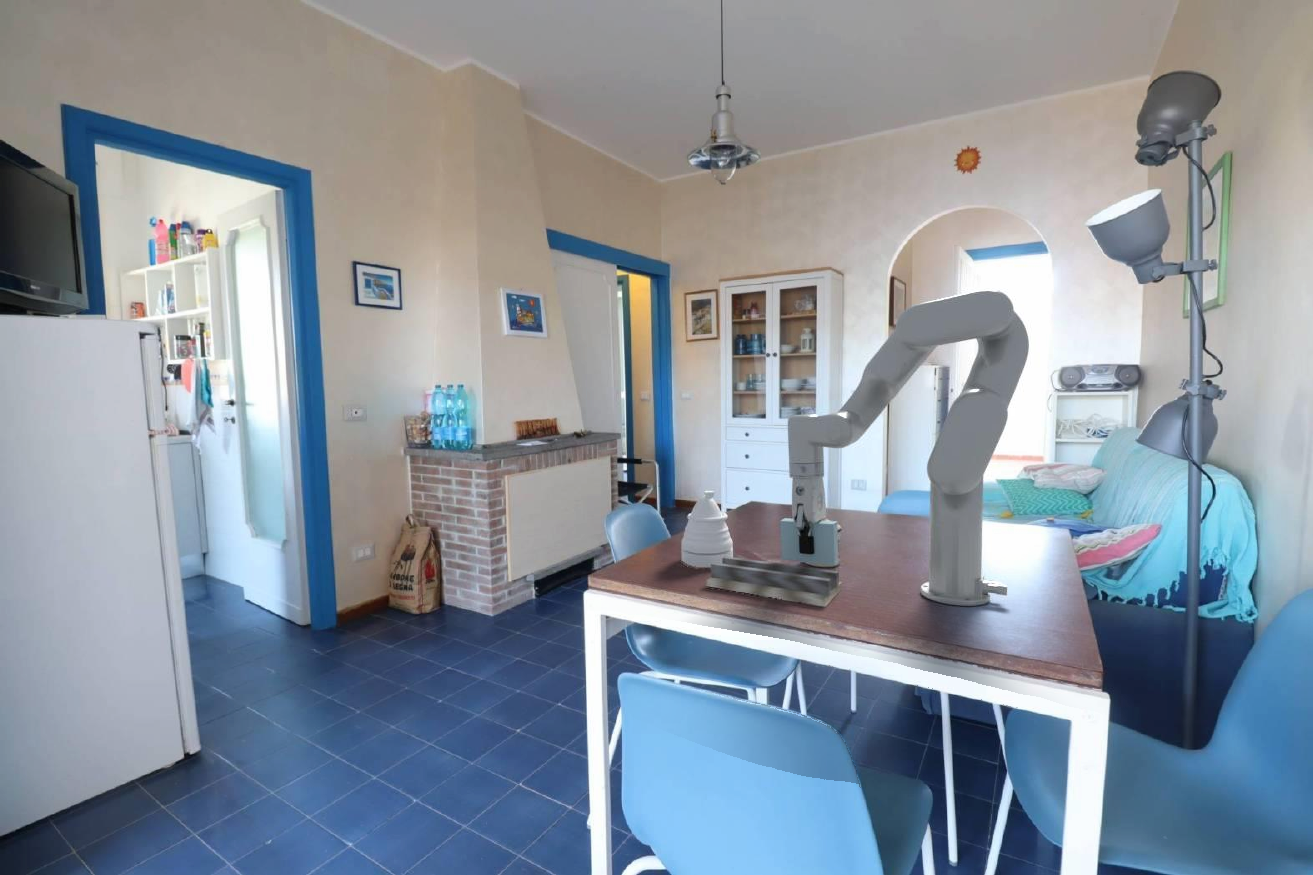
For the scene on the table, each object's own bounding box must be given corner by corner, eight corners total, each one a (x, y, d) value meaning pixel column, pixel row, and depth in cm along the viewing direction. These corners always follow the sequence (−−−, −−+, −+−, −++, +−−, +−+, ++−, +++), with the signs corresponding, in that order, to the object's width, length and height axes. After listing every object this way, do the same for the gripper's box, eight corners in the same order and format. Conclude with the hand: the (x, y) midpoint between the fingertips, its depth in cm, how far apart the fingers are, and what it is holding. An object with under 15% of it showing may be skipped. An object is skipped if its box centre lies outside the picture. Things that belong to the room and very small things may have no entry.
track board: (841, 589, 131) (841, 568, 130) (825, 606, 121) (825, 584, 120) (729, 572, 144) (729, 553, 144) (706, 587, 134) (706, 566, 134)
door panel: (838, 561, 136) (837, 521, 136) (834, 565, 134) (833, 524, 133) (786, 556, 143) (784, 518, 142) (781, 559, 140) (780, 520, 139)
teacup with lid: (843, 568, 145) (843, 519, 144) (803, 567, 147) (803, 519, 146) (839, 554, 157) (838, 509, 156) (802, 553, 159) (802, 509, 158)
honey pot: (742, 564, 151) (741, 491, 149) (694, 571, 146) (693, 496, 144) (718, 552, 163) (717, 484, 161) (673, 558, 158) (671, 488, 156)
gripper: (811, 475, 128) (814, 562, 129) (833, 465, 142) (836, 544, 143) (777, 474, 132) (780, 559, 133) (802, 465, 146) (804, 542, 147)
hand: (809, 550), depth 138 cm, fingers closed on door panel, 3 cm apart
